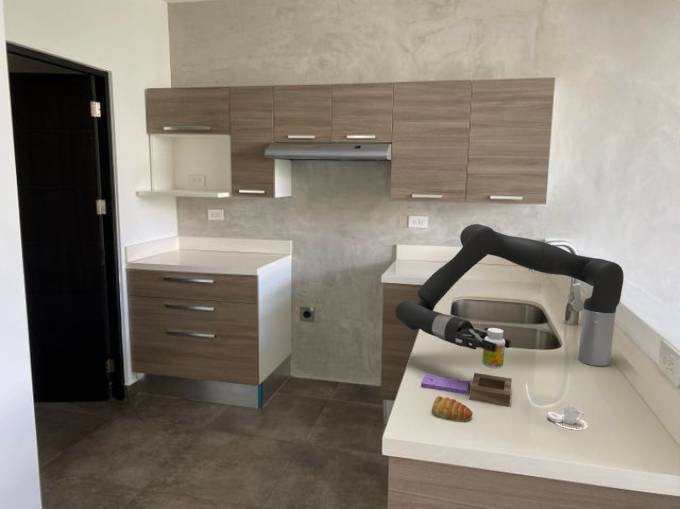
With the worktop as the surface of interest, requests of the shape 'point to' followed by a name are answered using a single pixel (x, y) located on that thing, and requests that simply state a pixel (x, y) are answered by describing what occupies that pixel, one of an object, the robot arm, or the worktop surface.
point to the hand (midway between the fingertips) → (502, 346)
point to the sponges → (445, 384)
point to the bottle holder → (491, 389)
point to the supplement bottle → (496, 357)
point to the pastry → (451, 409)
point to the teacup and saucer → (567, 417)
